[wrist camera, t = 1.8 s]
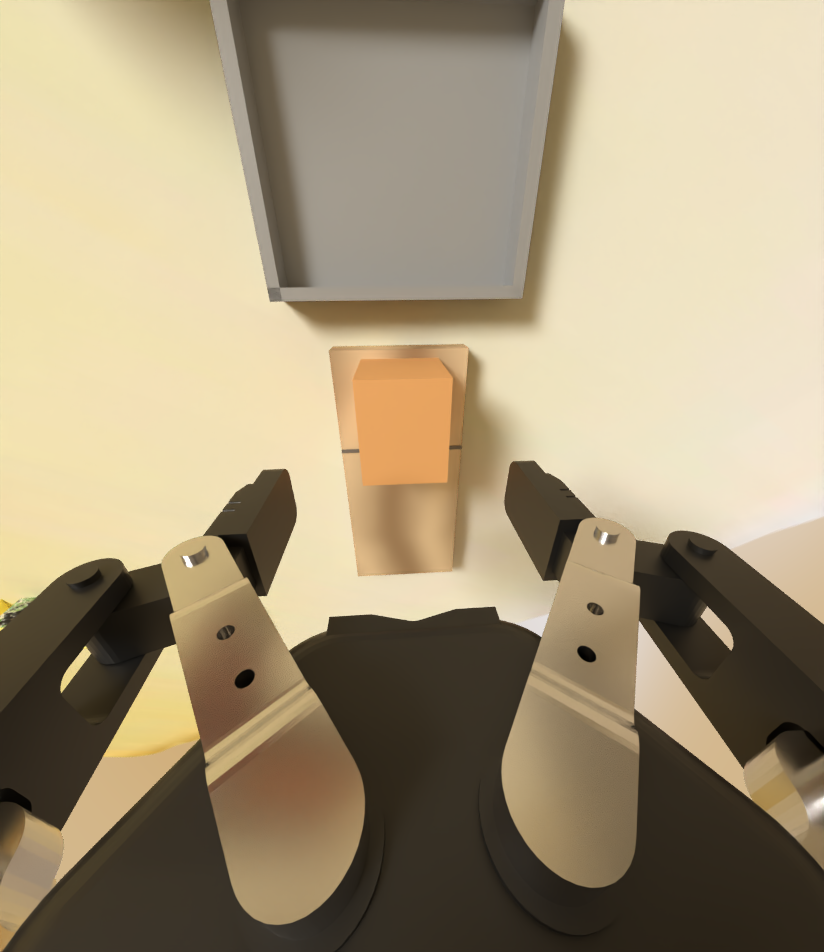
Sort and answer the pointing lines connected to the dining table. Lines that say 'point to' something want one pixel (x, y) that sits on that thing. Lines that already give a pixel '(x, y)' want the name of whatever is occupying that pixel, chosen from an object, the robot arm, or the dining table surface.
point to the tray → (391, 141)
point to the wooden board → (403, 505)
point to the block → (403, 420)
